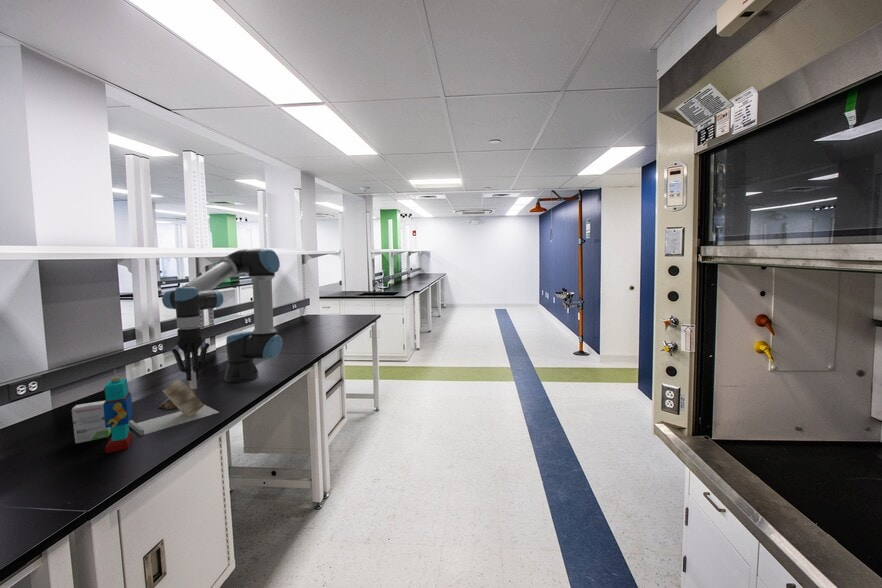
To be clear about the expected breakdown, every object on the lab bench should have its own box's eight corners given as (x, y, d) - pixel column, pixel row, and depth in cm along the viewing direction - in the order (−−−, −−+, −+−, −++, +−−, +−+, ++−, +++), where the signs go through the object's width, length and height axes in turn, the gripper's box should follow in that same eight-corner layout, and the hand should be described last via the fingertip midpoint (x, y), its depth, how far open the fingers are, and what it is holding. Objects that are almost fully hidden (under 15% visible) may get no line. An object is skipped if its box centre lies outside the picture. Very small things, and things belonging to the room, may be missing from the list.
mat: (204, 405, 160) (204, 400, 160) (219, 413, 152) (219, 408, 151) (128, 426, 141) (128, 420, 141) (140, 436, 132) (140, 430, 132)
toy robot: (112, 441, 129) (105, 366, 127) (135, 436, 132) (129, 364, 130) (104, 455, 119) (96, 375, 117) (129, 450, 122) (122, 372, 120)
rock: (183, 408, 158) (182, 395, 157) (154, 411, 155) (152, 397, 155) (196, 396, 172) (195, 383, 172) (170, 398, 170) (169, 385, 169)
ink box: (111, 432, 136) (108, 399, 135) (108, 437, 132) (105, 403, 131) (78, 438, 132) (75, 404, 131) (74, 444, 127) (70, 409, 126)
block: (197, 402, 155) (177, 379, 149) (204, 405, 151) (184, 382, 145) (182, 413, 151) (162, 390, 145) (189, 417, 147) (168, 394, 141)
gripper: (203, 324, 156) (207, 382, 158) (165, 329, 146) (170, 391, 148) (211, 326, 151) (215, 385, 153) (172, 331, 141) (177, 394, 143)
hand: (193, 388), depth 150 cm, fingers closed
